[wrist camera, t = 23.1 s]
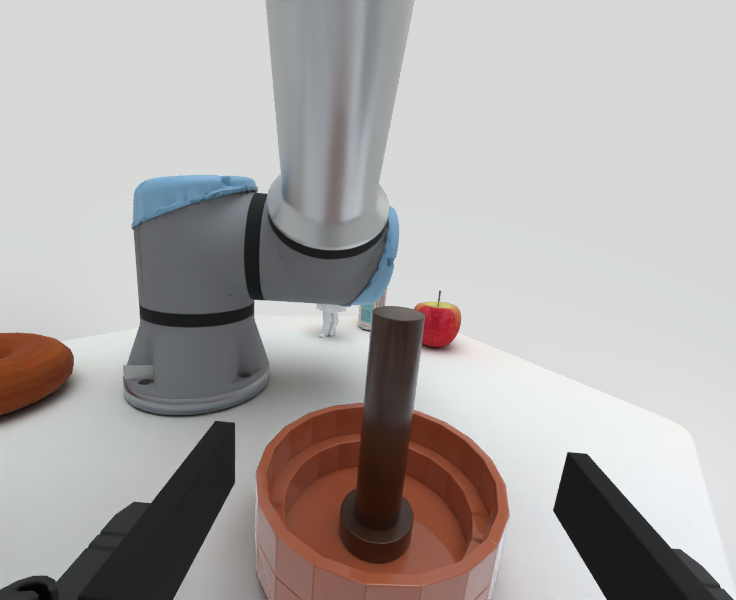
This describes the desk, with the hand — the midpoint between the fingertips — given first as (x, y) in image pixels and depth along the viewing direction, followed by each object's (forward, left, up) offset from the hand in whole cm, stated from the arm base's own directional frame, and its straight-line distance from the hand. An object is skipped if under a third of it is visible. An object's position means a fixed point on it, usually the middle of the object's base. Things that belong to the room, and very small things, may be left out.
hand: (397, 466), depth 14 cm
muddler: (-7, +3, -11) cm, 13 cm away
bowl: (-7, +3, -11) cm, 14 cm away
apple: (-40, +26, -12) cm, 49 cm away
